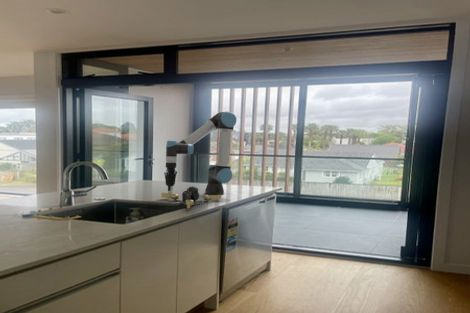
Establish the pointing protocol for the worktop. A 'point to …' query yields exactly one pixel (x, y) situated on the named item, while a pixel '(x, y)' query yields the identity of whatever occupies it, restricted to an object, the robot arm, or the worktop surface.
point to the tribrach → (198, 202)
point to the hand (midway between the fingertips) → (169, 194)
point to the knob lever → (170, 196)
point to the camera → (190, 194)
